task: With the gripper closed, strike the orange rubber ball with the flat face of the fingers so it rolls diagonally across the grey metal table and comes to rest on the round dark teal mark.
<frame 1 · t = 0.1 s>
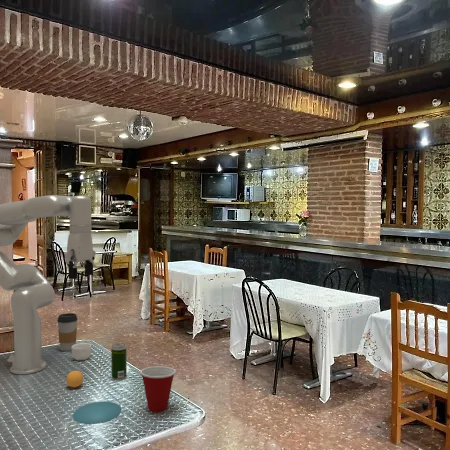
hand: (81, 276, 157), 37 cm above the table, tool pointing down, fingers open, 9 cm apart
green soda can: (119, 378, 157), on the table
plastic cup: (158, 408, 133), on the table
teacup: (80, 358, 178), on the table
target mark: (97, 412, 130), on the table
ball: (74, 378, 149), on the table
coffee cup: (67, 349, 189), on the table
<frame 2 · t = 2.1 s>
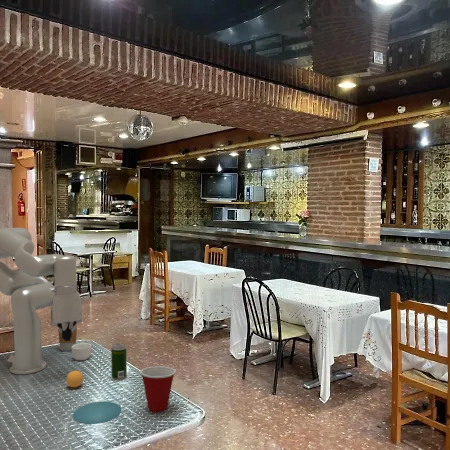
hand: (66, 340, 156), 14 cm above the table, tool pointing down, fingers closed
nothing on the table moved.
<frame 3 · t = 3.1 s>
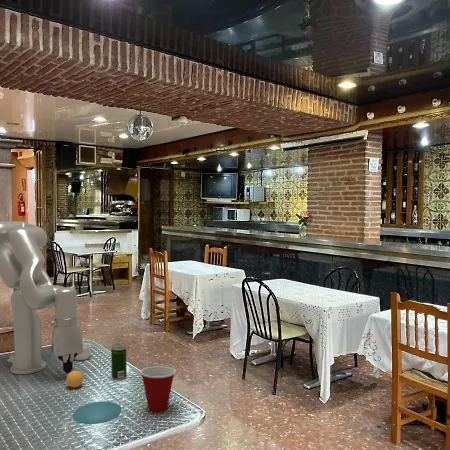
hand: (67, 372, 157), 2 cm above the table, tool pointing down, fingers closed
nothing on the table moved.
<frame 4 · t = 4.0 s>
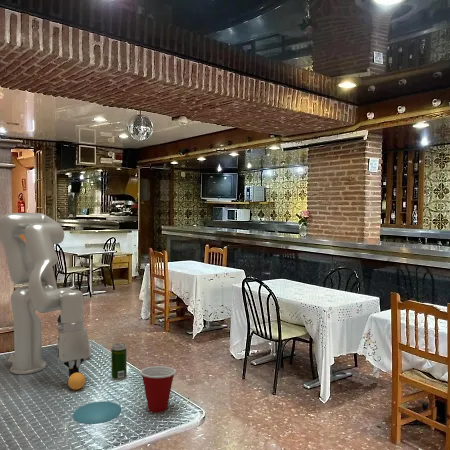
hand: (74, 378, 151), 2 cm above the table, tool pointing down, fingers closed
ball: (76, 380, 147), on the table
everything else where it was.
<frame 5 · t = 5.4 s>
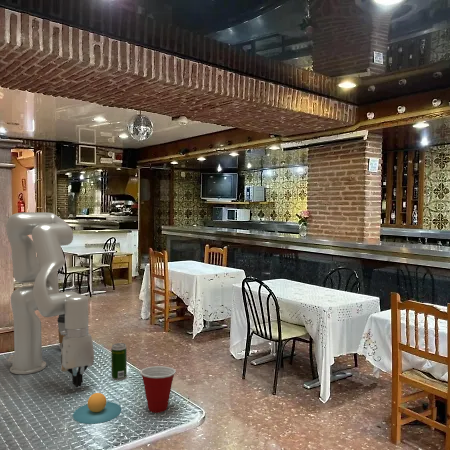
hand: (77, 385, 146), 2 cm above the table, tool pointing down, fingers closed
ball: (97, 402, 131), on the table
everything else where it was.
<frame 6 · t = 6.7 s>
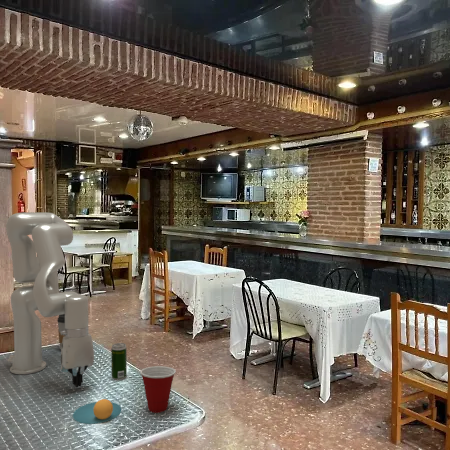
hand: (77, 385, 146), 2 cm above the table, tool pointing down, fingers closed
ball: (103, 409, 126), on the table
everything else where it was.
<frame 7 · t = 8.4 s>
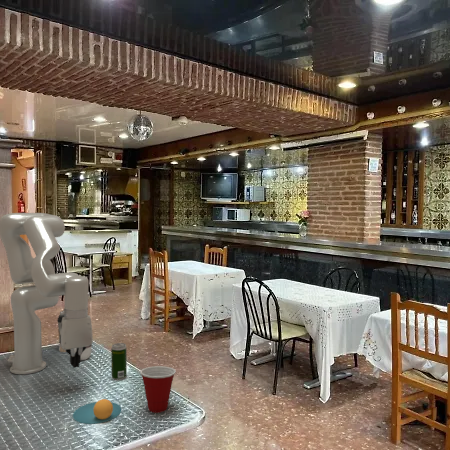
hand: (75, 366, 147), 8 cm above the table, tool pointing down, fingers closed
nothing on the table moved.
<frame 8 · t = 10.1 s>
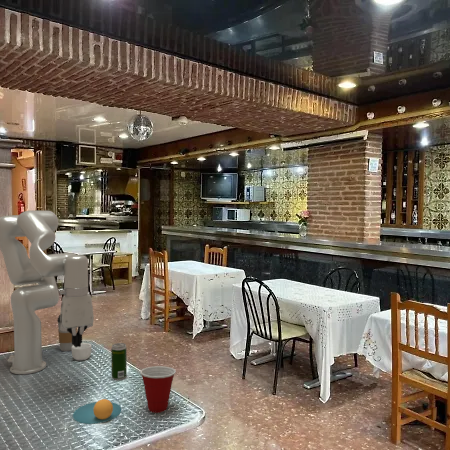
hand: (77, 345, 146), 15 cm above the table, tool pointing down, fingers closed
nothing on the table moved.
at the end: ball 4.7 cm from the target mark (horizontally); ball at rest at the end (0.0 cm/s); ball moved 27.7 cm from its start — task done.
